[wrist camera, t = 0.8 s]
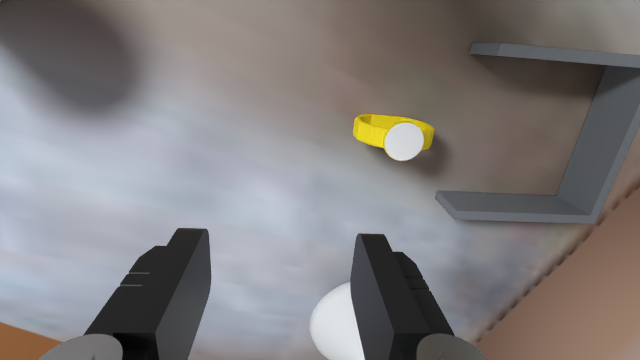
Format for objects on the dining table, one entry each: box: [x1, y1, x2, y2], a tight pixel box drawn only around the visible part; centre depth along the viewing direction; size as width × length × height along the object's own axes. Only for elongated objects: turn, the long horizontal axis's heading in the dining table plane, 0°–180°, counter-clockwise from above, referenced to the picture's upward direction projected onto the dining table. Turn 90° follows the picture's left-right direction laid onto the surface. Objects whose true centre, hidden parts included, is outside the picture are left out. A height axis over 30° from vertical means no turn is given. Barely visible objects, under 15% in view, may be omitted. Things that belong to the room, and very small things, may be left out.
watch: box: [353, 114, 435, 161], centre depth 25 cm, size 6×3×6 cm, turn 84°
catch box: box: [436, 43, 640, 224], centre depth 27 cm, size 14×13×4 cm
